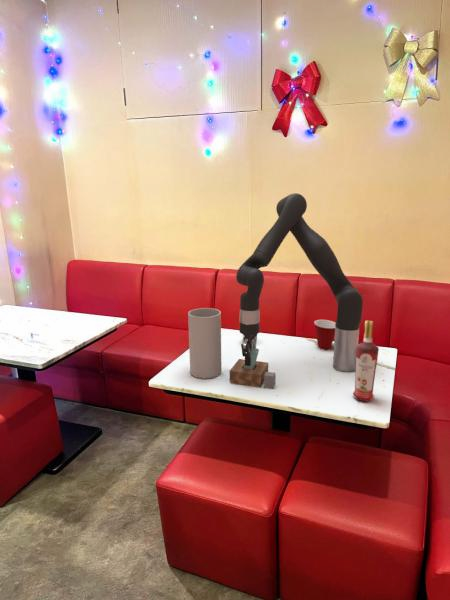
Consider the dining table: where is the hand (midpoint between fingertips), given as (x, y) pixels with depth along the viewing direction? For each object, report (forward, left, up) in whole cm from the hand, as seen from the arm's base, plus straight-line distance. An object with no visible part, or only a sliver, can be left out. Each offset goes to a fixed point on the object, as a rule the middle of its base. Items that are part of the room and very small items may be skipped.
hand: (249, 363), depth 163 cm
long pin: (0, 0, -4) cm, 4 cm away
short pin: (-9, +4, -6) cm, 12 cm away
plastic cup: (-24, -42, -7) cm, 49 cm away
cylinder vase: (+18, 0, -7) cm, 19 cm away
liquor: (-42, +3, -7) cm, 43 cm away
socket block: (0, 0, -6) cm, 6 cm away
